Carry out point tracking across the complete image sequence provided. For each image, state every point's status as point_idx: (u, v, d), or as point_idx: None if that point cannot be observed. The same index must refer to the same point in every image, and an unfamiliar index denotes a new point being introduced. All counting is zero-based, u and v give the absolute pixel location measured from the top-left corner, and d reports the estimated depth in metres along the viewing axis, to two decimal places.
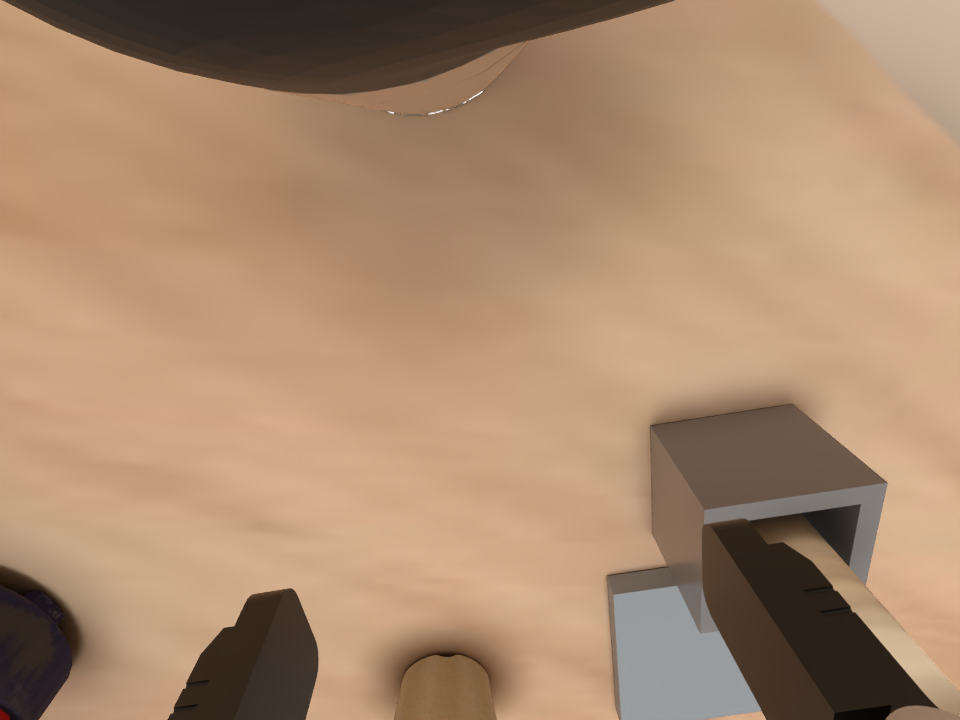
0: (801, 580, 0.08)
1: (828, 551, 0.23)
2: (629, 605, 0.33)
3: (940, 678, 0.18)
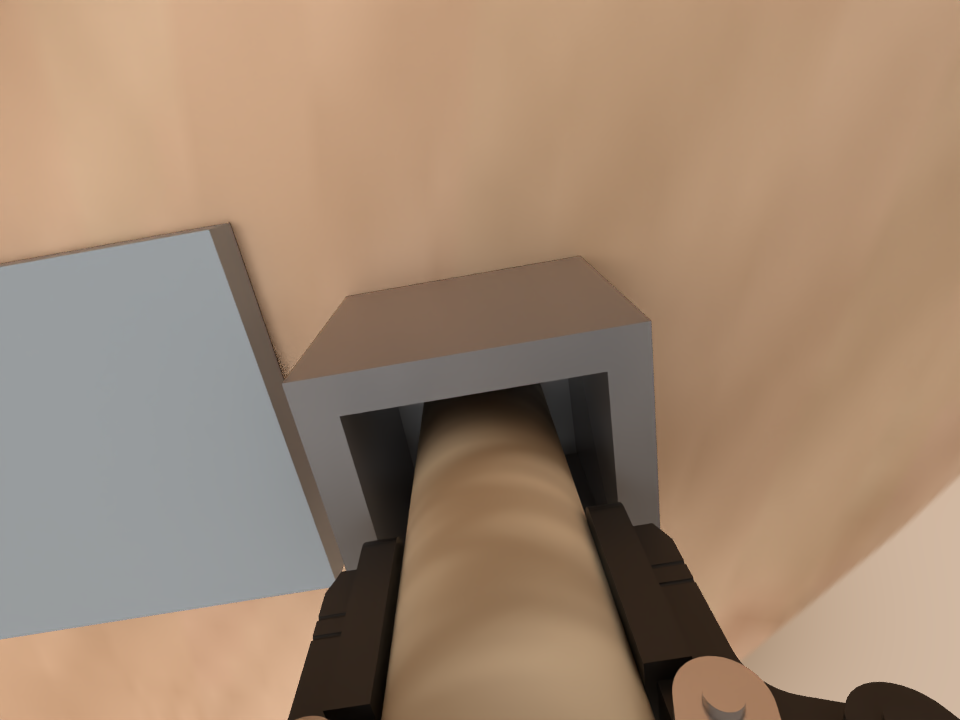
0: (658, 555, 0.09)
1: None
2: (183, 269, 0.16)
3: None
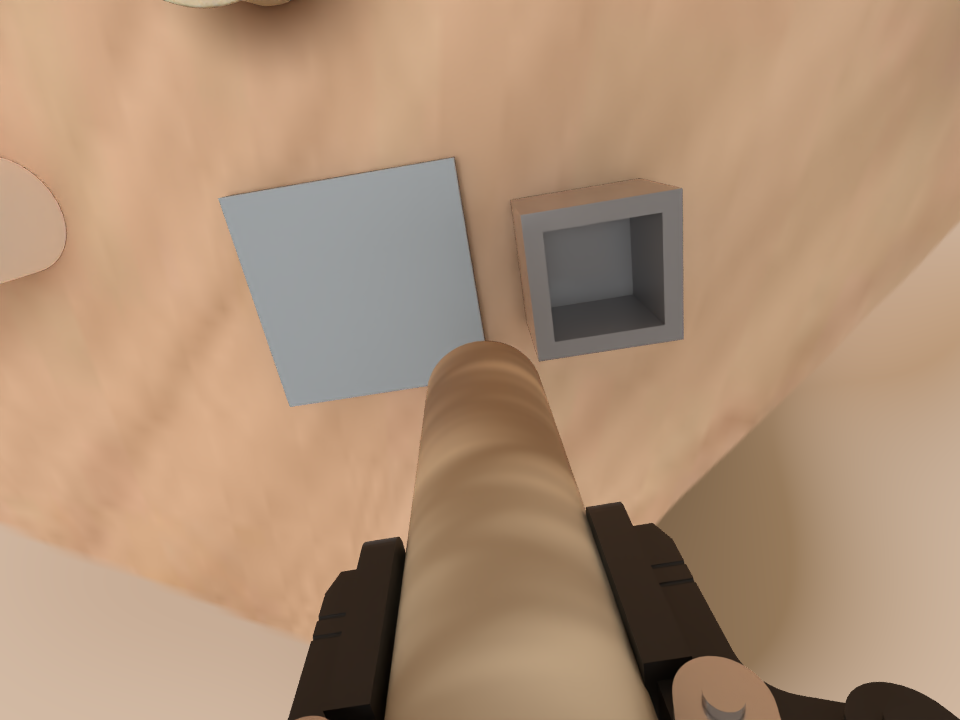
0: (658, 556, 0.09)
1: None
2: (437, 179, 0.30)
3: None
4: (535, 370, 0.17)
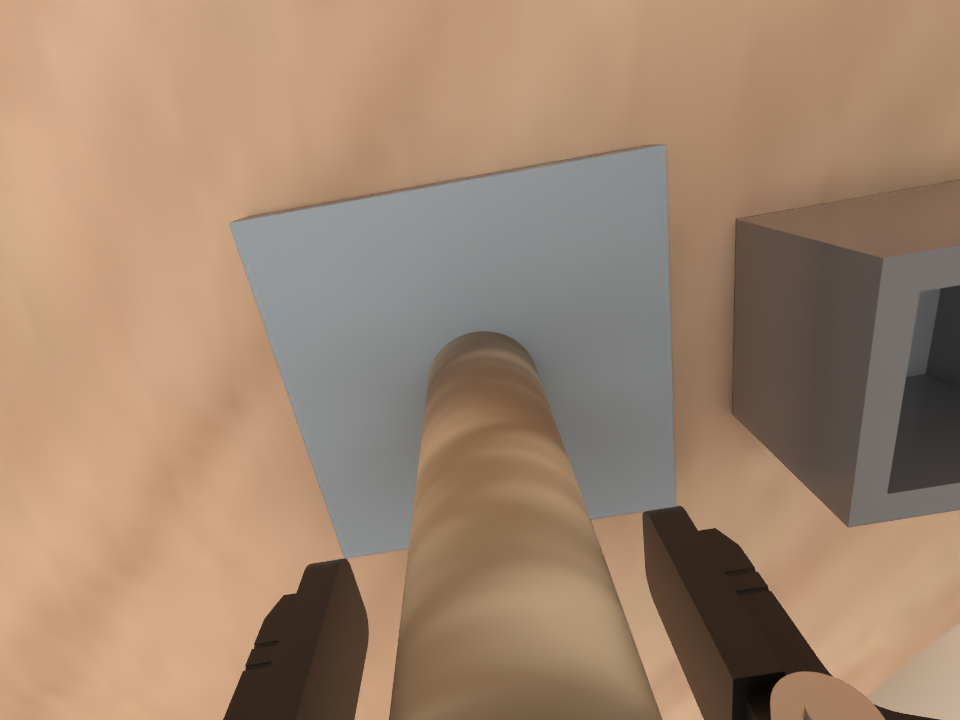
0: (727, 563, 0.09)
1: None
2: (631, 183, 0.17)
3: None
4: (531, 359, 0.18)
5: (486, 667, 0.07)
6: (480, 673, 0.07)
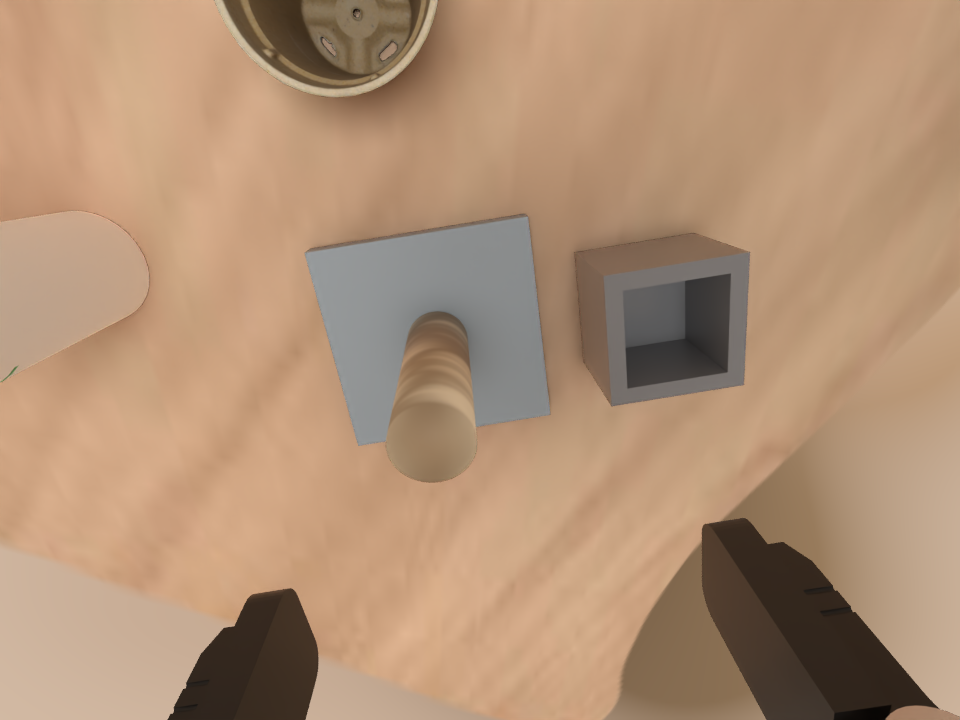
0: (801, 580, 0.08)
1: None
2: (511, 235, 0.33)
3: (474, 455, 0.23)
4: (462, 326, 0.34)
5: (417, 402, 0.22)
6: (415, 404, 0.22)
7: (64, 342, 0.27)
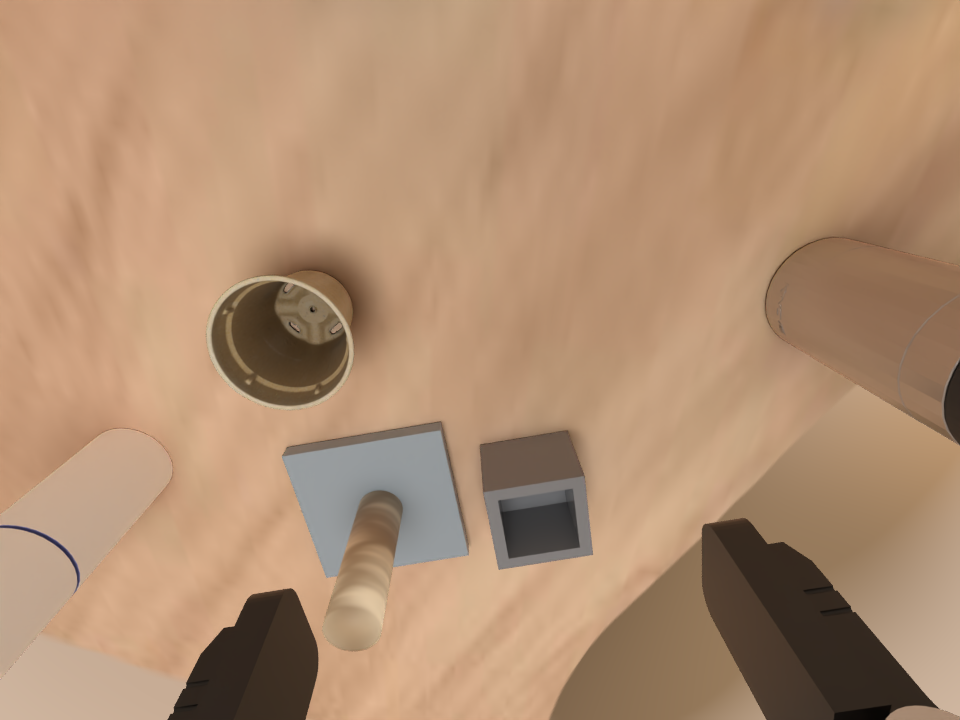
0: (801, 580, 0.08)
1: None
2: (429, 442, 0.45)
3: (380, 635, 0.36)
4: (397, 501, 0.47)
5: (341, 605, 0.35)
6: (339, 606, 0.35)
7: None
